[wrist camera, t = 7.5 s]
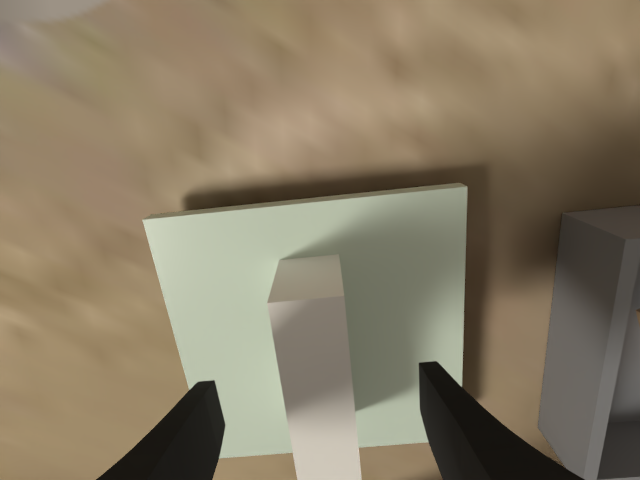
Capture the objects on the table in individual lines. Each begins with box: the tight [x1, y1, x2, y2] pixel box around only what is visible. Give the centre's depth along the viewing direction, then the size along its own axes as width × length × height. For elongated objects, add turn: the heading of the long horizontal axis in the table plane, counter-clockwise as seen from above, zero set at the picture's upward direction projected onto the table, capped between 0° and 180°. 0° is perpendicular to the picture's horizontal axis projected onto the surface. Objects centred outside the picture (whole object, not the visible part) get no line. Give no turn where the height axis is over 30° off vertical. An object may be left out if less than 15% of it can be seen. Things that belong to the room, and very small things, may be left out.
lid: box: [143, 183, 467, 480], centre depth 15 cm, size 12×12×5 cm
